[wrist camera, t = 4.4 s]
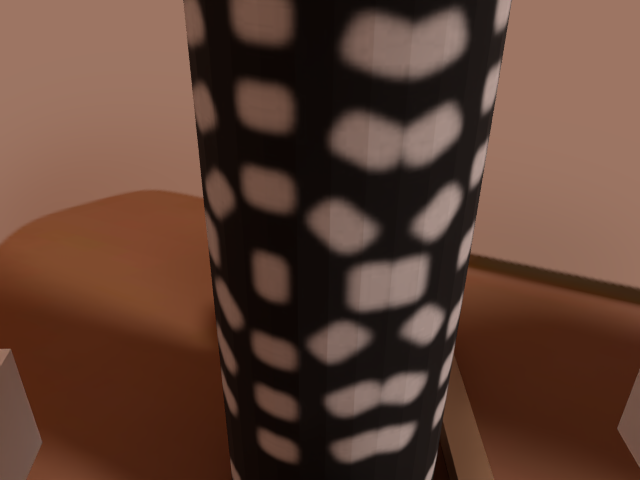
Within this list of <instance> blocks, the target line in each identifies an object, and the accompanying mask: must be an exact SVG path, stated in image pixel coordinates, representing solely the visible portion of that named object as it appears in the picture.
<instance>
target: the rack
mask: <svg viewBox="0 0 640 480" xmlns="http://www.w3.org/2000/svg"><path fill="white" fill-rule="evenodd" d="M440 443H441V447H442V451H443V455H444V459H445V463H446V467H447V471H448V475H449V479H450V480H494V477H493V474H492V471H491V468H490V464H489V461H488V458H487V455H486V452H485V449H484V446H483V442H482V439H481V436H480V433H479V430H478V427H477V424H476V421H475V417H474V414H473V411H472V408H471V405H470V402H469V399H468V396H467V392H466V389H465V386H464V383H463V380H462V377H461V374H460V371H459V367H458V364H457V361H456V358H455V355H453V361H452V367H451V373H450V379H449V385H448V391H447V397H446V403H445V409H444V415H443V422H442V428H441V434H440Z"/></svg>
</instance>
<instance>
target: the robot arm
mask: <svg viewBox="0 0 640 480" xmlns="http://www.w3.org/2000/svg"><path fill="white" fill-rule="evenodd" d="M617 430H618V431H619V433H620V435H621V436H622V438H623V440H624V442H625V443H626V445H627V447H628V449H629V450H630V452H631V454H632V456H633V457H634V459H635V461H636V462H637V464H638V466H639V468H640V370H639V372H638V375H637V378H636V380H635V383H634V385H633V388H632V391H631V393H630V396H629V399H628V401H627V404H626V406H625V409H624V412H623V414H622V417H621V420H620V422H619V425H618V427H617ZM41 444H42V440H41V437H40V434H39V431H38V428H37V425H36V422H35V419H34V416H33V413H32V410H31V407H30V404H29V401H28V398H27V395H26V392H25V389H24V386H23V383H22V380H21V378H20V375H19V372H18V369H17V366H16V363H15V360H14V357H13V354H12V351H11V349H0V480H26V478H27V476H28V474H29V472H30V469H31V467H32V465H33V463H34V460H35V458H36V456H37V453H38V451H39V449H40V447H41Z"/></svg>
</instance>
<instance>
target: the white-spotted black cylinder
mask: <svg viewBox="0 0 640 480" xmlns="http://www.w3.org/2000/svg"><path fill="white" fill-rule="evenodd" d="M183 1H184V11H185V20H186V31H187V40H188V50H189V60H190V70H191V80H192V90H193V99H194V109H195V118H196V129H197V139H198V148H199V158H200V168H201V177H202V187H203V197H204V207H205V217H206V227H207V237H208V246H209V256H210V266H211V276H212V286H213V296H214V305H215V315H216V325H217V335H218V345H219V354H220V364H221V374H222V384H223V394H224V403H225V413H226V423H227V433H228V443H229V452H230V462H231V472H232V480H433V476H434V470H435V464H436V458H437V452H438V446H439V440H440V434H441V428H442V422H443V415H444V409H445V403H446V397H447V391H448V385H449V379H450V373H451V367H452V361H453V355H454V349H455V342H456V336H457V330H458V324H459V318H460V312H461V306H462V300H463V294H464V288H465V282H466V276H467V269H468V263H469V257H470V251H471V245H472V239H473V233H474V227H475V221H476V215H477V208H478V203H479V196H480V190H481V184H482V178H483V172H484V166H485V159H486V154H487V148H488V142H489V135H490V129H491V123H492V116H493V111H494V105H495V99H496V93H497V87H498V80H499V75H500V68H501V63H502V56H503V50H504V44H505V38H506V32H507V26H508V20H509V14H510V8H511V2H512V0H183Z"/></svg>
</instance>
